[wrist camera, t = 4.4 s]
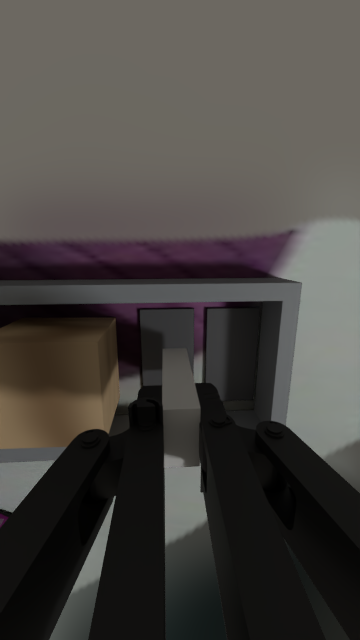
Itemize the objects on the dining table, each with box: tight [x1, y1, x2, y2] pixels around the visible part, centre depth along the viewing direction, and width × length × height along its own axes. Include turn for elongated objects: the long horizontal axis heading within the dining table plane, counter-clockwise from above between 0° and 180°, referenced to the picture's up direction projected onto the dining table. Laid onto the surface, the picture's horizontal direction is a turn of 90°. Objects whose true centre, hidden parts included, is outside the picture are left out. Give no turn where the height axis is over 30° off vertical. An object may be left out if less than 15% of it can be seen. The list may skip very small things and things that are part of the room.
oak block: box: [0, 318, 120, 449], centre depth 16 cm, size 6×6×5 cm
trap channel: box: [0, 278, 302, 463], centre depth 16 cm, size 28×11×3 cm, turn 90°
